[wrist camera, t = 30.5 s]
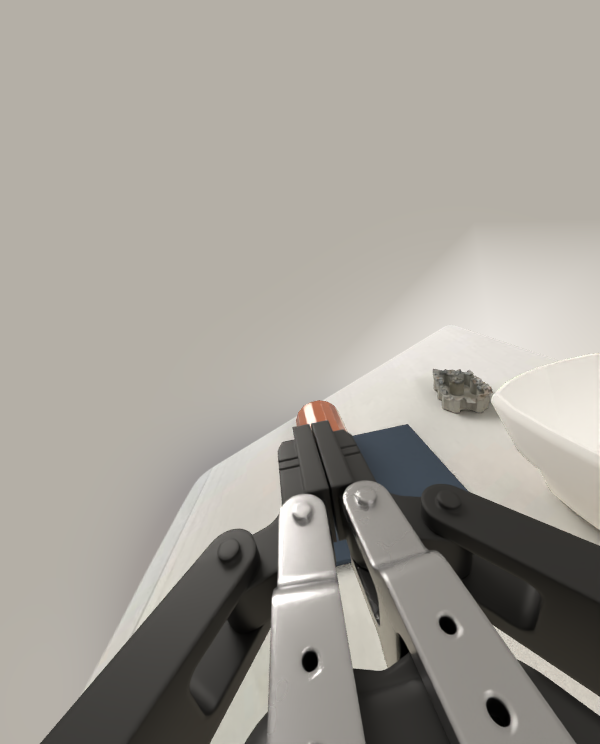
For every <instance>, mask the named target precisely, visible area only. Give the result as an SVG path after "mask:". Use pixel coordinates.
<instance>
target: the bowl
mask: <svg viewBox="0 0 600 744" xmlns="http://www.w3.org/2000/svg"><path fill="white" fill-rule="evenodd" d="M491 403H492V405H493V406H494V408H495V410H496V412H497V414H498V415H499V417H500V419H501V421H502V423H503V425H504V426H505V428H506V430H507V432H508V434H509V435H510V437H511V439H512V441H513V443H514V445H515V446H516V448H517V450H518V451H519V452H520V453H521V454H522V455H523V456H524V457H525V458H526V459H527V460H528V461H529V462H530V463H531V464H532V465H534V466H535V467H536V468H538V469H539V470H540V472H541V474H542V476H543V478H544V480H545V482H546V484H547V486H548V488H549V489H550V491H551V492H552V493H553V494H554V495H555V496H556V497H557V498H559V499H560V500H561V501H562V502H564V503H565V504H566V505H567V506H568V507H570V508H571V509H572V510H573V511H575V512H576V513H577V514H578V515H579V516H581V517H582V518H583V519H585V520H586V521H587V522H589V523H590V524H592V525H593V526H594V527H596V528H597V529H599V530H600V353H597V354H589V355H584V356H579V357H574V358H569V359H565V360H561V361H557V362H554V363H550V364H546V365H543V366H540V367H537V368H535V369H532V370H530V371H527V372H525V373H522V374H520V375H518V376H516V377H514V378H512V379H510V380H509V381H507V382H505V383H504V384H503V385H502V386H501V387H500V388H499V389H498V390H497V391H496V392H495V393H494V394H493V396H492V399H491Z"/></svg>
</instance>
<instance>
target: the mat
mask: <svg viewBox="0 0 600 744" xmlns="http://www.w3.org/2000/svg"><path fill="white" fill-rule="evenodd" d="M353 438H354V440H355V442H356V444H357V446H358V448H359V450H360V452H361V453H362V455H363V457H364V459H365V461H366V463H367V465H368V467H369V469H370V470H371V472H372V474H373V476H374V478H375V480H376V482H377V483H379V484H380V485H382V486H383V487H385V488H386V489H387V491H388V492H390V493H392V494H395V495H400V496H413V497H421V496H422V493H423V491H424V490H425V489H426V488H427V487H429V486H431V485H434V484H449V485H453V486H456V487H458V488H461V489H463V490H466V491H467V489H466V488H465V487H464V486H463V485H462V484H461V483H460V482H459V481H458V479H457V478H456V477H455V476H454V475H453V474H452V473H451V472H450V471H449V470H448V468H447V467H446V466H445V465H444V464H443V463H442V462H441V461H440V460H439V458H438V457H437V456H436V455H435V454H434V453H433V452H432V451H431V450H430V448H429V447H428V446H427V445H426V444H425V443H424V442H423V441H422V440H421V438H420V437H419V436H418V435H417V434H416V433H415V432H414V431H413V430H412V428H411V427H410V426H409V425H408V424H406V425H401V426H397V427H392V428H387V429H383V430H378V431H373V432H369V433H364V434H359V435H355V436H353ZM335 531H336V528H335ZM336 538H337V542H334V549H335V556H336V566H339V565H343V564H347V563H351V556H350V550H349V547H348V544H347V541H346V540H342V541H339V539H338V535H337V532H336Z"/></svg>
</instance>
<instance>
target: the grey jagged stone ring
mask: <svg viewBox="0 0 600 744" xmlns="http://www.w3.org/2000/svg"><path fill="white" fill-rule="evenodd" d="M433 378H434V390H435V391H438V394H437V397H438V399H440V400H442V408H443V409H446V410H449V411H451V412H453V413H460V410H463V409H470V410H474V411H475V412H476V413H480V412H481V413H482V412H483V410H484V409H487V408H488V406H489V402H490V396H489V394H491V393H493V392H492V389H491V387H490V386H489V385H488V384H485V382H483V381H482V380H481V379H480V378H478V377H476V376H474V375H473V372H471V371H470V370H469V371H467V372H461V370H460V369H459V370H457V371H455V370H446V369H445V370H444V371H442V370H437V369H433Z"/></svg>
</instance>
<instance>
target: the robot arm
mask: <svg viewBox="0 0 600 744" xmlns="http://www.w3.org/2000/svg"><path fill="white" fill-rule="evenodd" d="M292 428H293V433H294V438H295V440H290V441H285V442H282V443H281V445H280V447H279V450H278V461H279V473H280V484H281V496H282V507H281V509H280V512H279V515H278V516H277V518H276V519H275V520H274V521H273V522H272V523H271V524H270V525H269V526H267V527H266V528H264V529H262V530H260V531H259V532H257V533H255V534H253V535H252V534H251V533H250V532H248V531H247V530H244V529H233V530H229V531H226V532H224V533H223V534H221V535H219V536H218V537H217V538H216V539H215V540H214V541H213V542H212V543H211V544H210V545H209V546H208V548H207V549H206V550H205V551H204V552H203V553H202V555H201V556H200V557H199V558H198V559H197V560H196V562H195V563H194V564H193V565H192V566H191V567H190V569H189V570H188V571H187V572H186V573H185V574H184V576H183V577H182V578H181V579H180V580H179V581H178V583H177V584H176V585H175V586H174V587H173V589H172V590H171V591H170V592H169V593H168V594H167V596H166V597H165V598H164V599H163V600H162V601H161V603H160V604H159V605H158V606H157V607H156V608H155V610H154V611H153V612H152V613H151V614H150V615H149V617H148V618H147V619H146V620H145V621H144V622H143V624H142V625H141V626H140V627H139V628H138V630H137V631H136V632H135V633H134V634H133V635H132V637H131V638H130V639H129V640H128V641H127V642H126V644H125V645H124V646H123V647H122V648H121V649H120V651H119V652H118V653H117V654H116V655H115V656H114V658H113V659H112V660H111V661H110V662H109V664H108V665H107V666H106V667H105V668H104V669H103V671H102V672H101V673H100V674H99V675H98V676H97V678H96V679H95V680H94V681H93V682H92V683H91V685H90V686H89V687H88V688H87V689H86V690H85V692H84V693H83V694H82V695H81V696H80V697H79V699H78V700H77V701H76V702H75V703H74V705H73V706H72V707H71V708H70V709H69V711H68V712H67V713H66V714H65V715H64V716H63V717H62V719H61V720H60V721H59V722H58V723H57V724H56V726H55V727H54V728H53V729H52V730H51V732H50V733H49V734H48V735H47V736H46V738H44V740H43V741H42V742H41V743H40V744H210V742H211V740H212V738H213V736H214V734H215V732H216V730H217V729H218V727H219V725H220V723H221V721H222V719H223V717H224V715H225V713H226V712H227V710H228V708H229V706H230V704H231V702H232V700H233V698H234V696H235V694H236V693H237V691H238V689H239V687H240V685H241V683H242V681H243V679H244V677H245V676H246V674H247V672H248V670H249V668H250V666H251V664H252V662H253V660H254V658H255V657H256V655H257V653H258V651H259V649H260V647H261V645H262V643H263V641H264V640H265V638H266V636H267V634H268V632H269V630H270V628H271V638H270V667H269V697H268V712H267V713H266V714H265V716H264V717H263V718H262V719H261V720H260V721H259V723H258V724H257V725H256V727H255V728H254V730H253V731H252V733H251V734H250V736H249V737H248V739H247V740H246V742H245V744H600V716H599V715H598V714H596V713H595V712H593V711H592V710H591V709H589V708H588V707H587V706H585V705H584V704H583V703H581V702H580V701H578V700H577V699H576V698H574V697H573V696H572V695H570V694H569V693H568V692H566V691H565V690H563V689H562V688H561V687H559V686H558V685H557V684H555V683H554V682H553V681H551V680H550V679H548V678H547V677H546V676H544V675H543V674H541V673H540V672H538V671H537V670H535V669H533V668H532V667H530V666H528V665H527V664H525V663H523V662H521V661H519V660H517V659H516V658H515V656H514V655H513V653H512V652H511V651H510V649H509V648H508V646H507V645H506V644H505V642H504V641H503V639H502V638H501V637H500V635H499V634H498V632H497V631H496V629H495V628H494V627H493V625H494V626H495V627H497V628H498V629H500V630H501V631H503V632H504V633H506V634H507V635H509V636H510V637H512V638H513V639H515V640H516V641H518V642H519V643H521V644H522V645H524V646H525V647H527V648H528V649H530V650H531V651H533V652H534V653H536V654H537V655H539V656H540V657H541V658H543V659H544V660H546V661H547V662H549V663H550V664H552V665H553V666H555V667H556V668H558V669H559V670H561V671H562V672H564V673H565V674H567V675H568V676H570V677H571V678H573V679H574V680H576V681H577V682H579V683H580V684H582V685H583V686H585V687H586V688H588V689H589V690H591V691H592V692H594V693H595V694H597V695H598V696H600V546H599V545H596V544H594V543H591V542H589V541H586V540H584V539H582V538H579V537H577V536H574V535H572V534H570V533H567V532H565V531H562V530H560V529H557V528H555V527H553V526H550V525H548V524H545V523H543V522H540V521H538V520H536V519H533V518H531V517H528V516H526V515H524V514H521V513H519V512H516V511H514V510H511V509H509V508H507V507H504V506H502V505H499V504H497V503H495V502H492V501H490V500H487V499H485V498H482V497H480V496H478V495H475V494H473V493H470V492H468V491H466V490H463V489H461V488H458V487H456V486H453V485H449V484H434V485H431V486H429V487H427V488H426V489H425V490H424V491H423V493H422V496H421V497H413V496H400V495H395V494H392V493H390V492H388V491H387V489H386V488H385V487H383V486H382V485H380V484H379V483H377V482H376V480H375V478H374V476H373V474H372V472H371V470H370V469H369V467H368V465H367V463H366V461H365V459H364V457H363V455H362V453H361V452H360V450H359V448H358V446H357V444H356V442H355V440H354V438H353V436H352V435H351V434H349V433H348V432H347V431H345V430H344V429H342V430H337V431H333V430H332V428H331V425H330V423H329V421H328V420H325V421H320V422H315V423H311V427H310V424H306V425H301V426H296V427H292ZM311 429H312V430H311ZM335 528H336V531H335ZM336 532H337V535H338V539H339V541H342V540H346V541H347V544H348V547H349V550H350V556H351V563H352V567H353V569H354V572H355V574H356V577H357V580H358V582H359V585H360V588H361V590H362V593H363V595H364V598H365V601H366V603H367V606H368V609H369V611H370V614H371V617H372V619H373V622H374V624H375V627H376V630H377V633H378V636H379V639H380V642H381V646H382V650H383V654H384V658H385V661H386V664H387V667H388V668H387V669H386V670H383V671H374V670H363V669H353V667H352V661H351V655H350V649H349V643H348V637H347V631H346V626H345V620H344V614H343V608H342V602H341V596H340V590H339V584H338V578H337V573H336V556H335V549H334V542H337V538H336Z"/></svg>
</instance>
